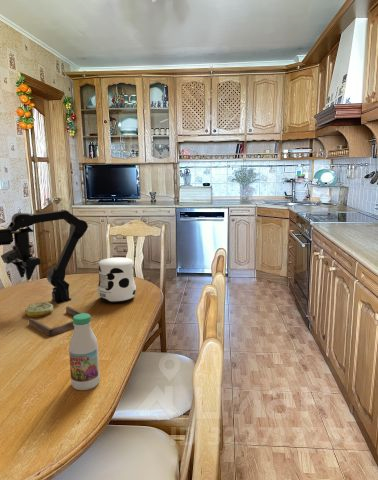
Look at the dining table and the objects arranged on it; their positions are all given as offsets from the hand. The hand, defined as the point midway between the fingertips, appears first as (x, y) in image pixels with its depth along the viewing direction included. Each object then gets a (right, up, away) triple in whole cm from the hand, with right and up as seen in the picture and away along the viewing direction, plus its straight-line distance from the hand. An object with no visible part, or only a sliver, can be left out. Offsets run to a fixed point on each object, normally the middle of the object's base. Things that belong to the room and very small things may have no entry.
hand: (25, 278), depth 157 cm
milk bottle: (+42, -24, -55) cm, 73 cm away
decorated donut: (+8, -14, -4) cm, 17 cm away
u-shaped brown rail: (+20, -16, -14) cm, 29 cm away
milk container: (+37, -11, +13) cm, 41 cm away
